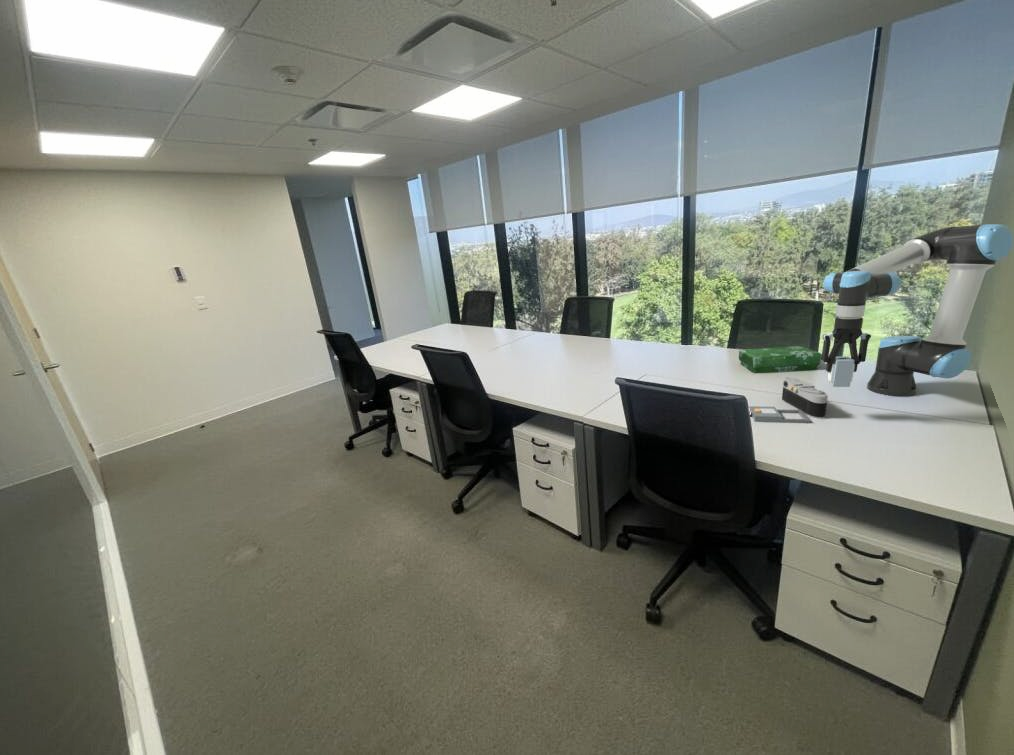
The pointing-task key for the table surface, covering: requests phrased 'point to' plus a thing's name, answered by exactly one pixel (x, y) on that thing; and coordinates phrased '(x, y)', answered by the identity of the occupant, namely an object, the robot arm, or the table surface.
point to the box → (779, 359)
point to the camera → (805, 397)
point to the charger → (842, 372)
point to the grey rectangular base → (775, 415)
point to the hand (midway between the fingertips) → (839, 380)
